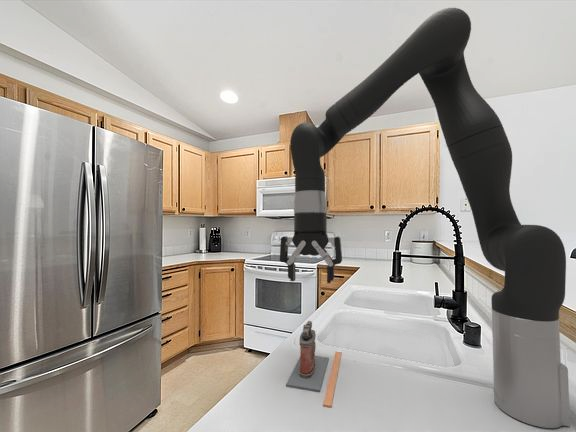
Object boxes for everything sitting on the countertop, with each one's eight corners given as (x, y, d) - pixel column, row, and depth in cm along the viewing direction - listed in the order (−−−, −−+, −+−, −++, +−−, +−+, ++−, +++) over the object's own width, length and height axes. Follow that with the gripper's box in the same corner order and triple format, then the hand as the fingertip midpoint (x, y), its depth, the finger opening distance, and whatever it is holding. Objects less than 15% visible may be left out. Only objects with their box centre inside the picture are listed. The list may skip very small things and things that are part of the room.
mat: (328, 359, 67) (328, 357, 67) (319, 392, 54) (319, 390, 54) (301, 355, 69) (301, 353, 69) (286, 386, 56) (286, 384, 56)
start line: (341, 353, 70) (341, 352, 70) (331, 407, 49) (331, 405, 49) (335, 352, 71) (335, 351, 71) (323, 406, 50) (323, 404, 50)
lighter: (312, 380, 57) (312, 332, 58) (296, 377, 58) (296, 330, 59) (317, 361, 65) (317, 319, 66) (303, 359, 66) (303, 318, 66)
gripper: (342, 212, 65) (343, 280, 64) (285, 213, 69) (285, 277, 68) (339, 210, 58) (340, 286, 57) (276, 211, 62) (276, 283, 61)
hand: (310, 281), depth 63 cm, fingers open, 8 cm apart
